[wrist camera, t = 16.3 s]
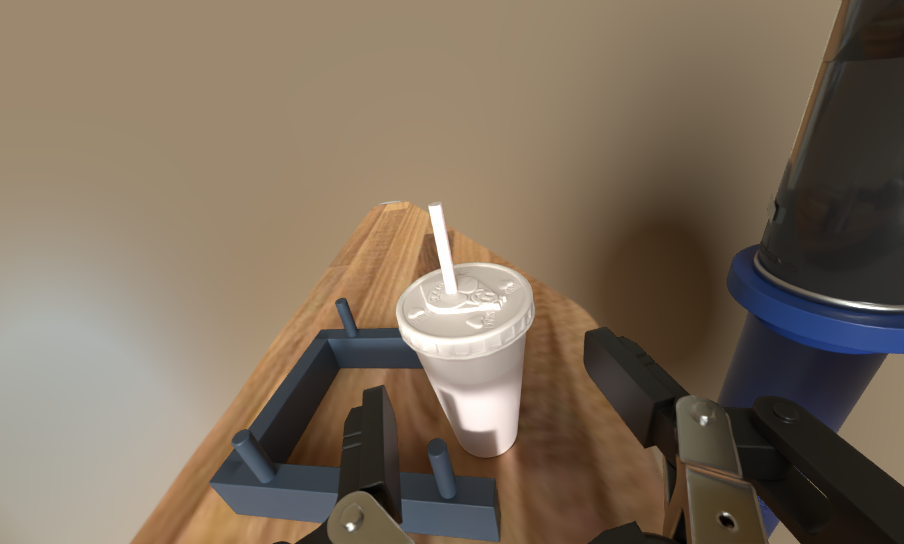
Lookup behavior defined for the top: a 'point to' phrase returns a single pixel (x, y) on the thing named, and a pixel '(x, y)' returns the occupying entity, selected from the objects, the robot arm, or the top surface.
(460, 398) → the smoothie
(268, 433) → the rack
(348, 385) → the top surface
